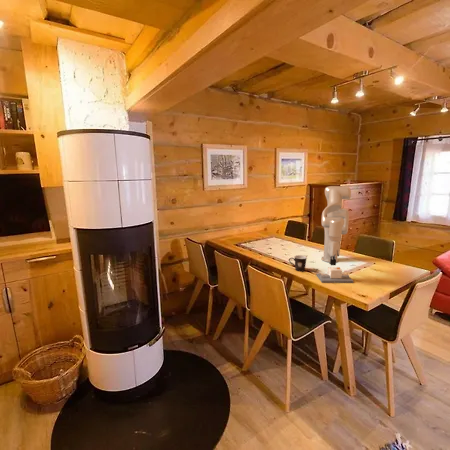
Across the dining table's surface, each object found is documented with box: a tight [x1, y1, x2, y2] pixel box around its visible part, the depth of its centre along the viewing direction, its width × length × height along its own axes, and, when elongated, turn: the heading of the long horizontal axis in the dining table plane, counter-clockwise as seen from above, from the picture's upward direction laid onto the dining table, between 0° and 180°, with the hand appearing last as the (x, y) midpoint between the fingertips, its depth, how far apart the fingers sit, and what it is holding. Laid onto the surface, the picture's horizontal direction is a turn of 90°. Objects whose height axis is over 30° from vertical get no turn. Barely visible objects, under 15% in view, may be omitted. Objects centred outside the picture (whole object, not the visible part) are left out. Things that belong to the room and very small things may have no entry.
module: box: [327, 266, 343, 278], centre depth 181 cm, size 6×7×6 cm
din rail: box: [319, 273, 350, 278], centre depth 182 cm, size 2×18×2 cm, turn 88°
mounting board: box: [316, 273, 354, 284], centre depth 182 cm, size 12×20×2 cm, turn 88°
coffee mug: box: [288, 254, 307, 273], centre depth 200 cm, size 12×9×10 cm
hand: (332, 264), depth 181 cm, fingers closed
